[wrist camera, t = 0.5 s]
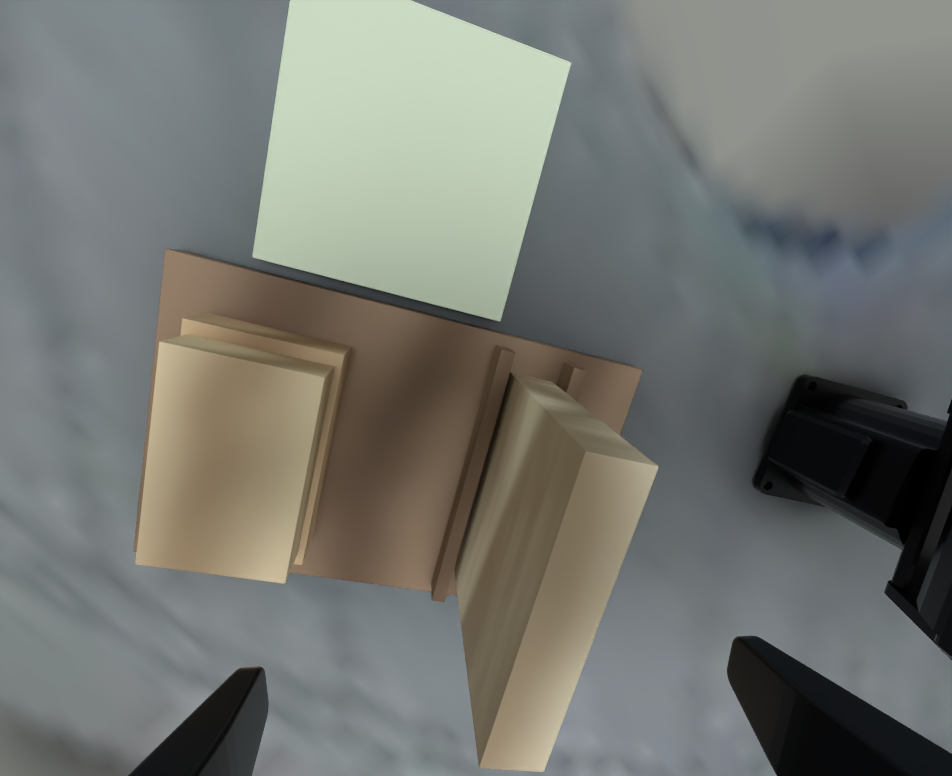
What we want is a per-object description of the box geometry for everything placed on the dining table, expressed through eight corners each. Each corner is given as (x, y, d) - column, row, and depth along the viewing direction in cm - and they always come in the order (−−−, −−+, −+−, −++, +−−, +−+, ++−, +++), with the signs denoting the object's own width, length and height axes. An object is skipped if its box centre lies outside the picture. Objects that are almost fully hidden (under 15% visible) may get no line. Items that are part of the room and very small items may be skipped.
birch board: (552, 381, 20) (659, 466, 11) (492, 573, 22) (543, 771, 13) (510, 372, 19) (585, 451, 11) (453, 567, 21) (479, 767, 13)
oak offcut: (352, 346, 18) (344, 355, 16) (313, 537, 20) (301, 565, 18) (208, 313, 17) (182, 317, 15) (182, 517, 19) (155, 544, 17)
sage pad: (562, 74, 17) (571, 62, 16) (496, 319, 20) (500, 321, 19) (304, -25, 16) (296, -44, 15) (261, 258, 18) (252, 257, 17)
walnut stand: (632, 365, 21) (656, 375, 19) (553, 595, 24) (566, 626, 22) (179, 250, 17) (146, 247, 15) (147, 537, 20) (115, 569, 18)
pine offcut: (334, 366, 16) (324, 377, 14) (297, 553, 18) (284, 583, 16) (188, 334, 15) (159, 341, 14) (164, 534, 17) (135, 564, 15)
